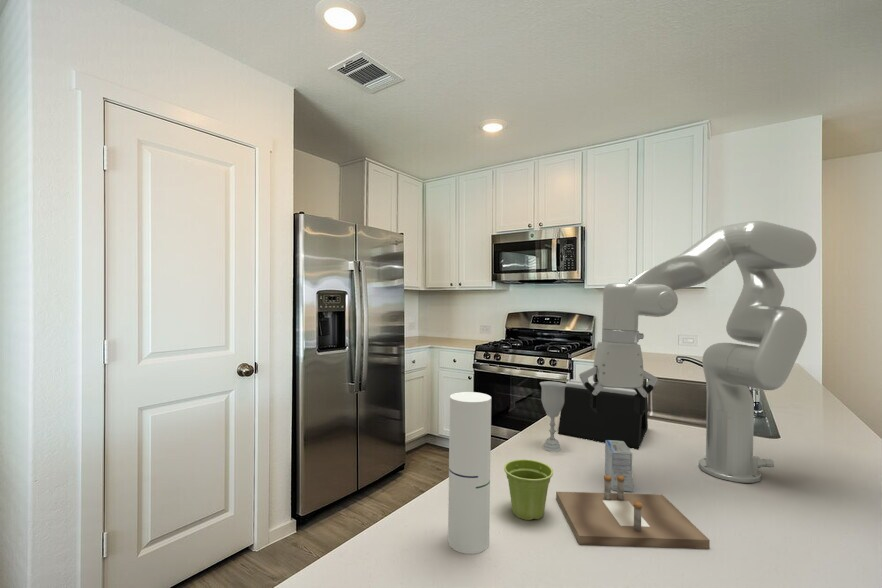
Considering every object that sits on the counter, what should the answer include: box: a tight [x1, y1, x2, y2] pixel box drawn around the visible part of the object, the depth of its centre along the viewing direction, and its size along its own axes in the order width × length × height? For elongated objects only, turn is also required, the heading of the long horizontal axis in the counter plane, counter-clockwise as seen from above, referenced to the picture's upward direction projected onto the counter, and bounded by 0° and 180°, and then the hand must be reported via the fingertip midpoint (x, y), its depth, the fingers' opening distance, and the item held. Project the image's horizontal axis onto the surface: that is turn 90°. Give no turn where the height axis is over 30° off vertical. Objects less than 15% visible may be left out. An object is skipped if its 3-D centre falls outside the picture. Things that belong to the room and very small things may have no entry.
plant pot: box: [503, 458, 554, 521], centre depth 82 cm, size 9×9×9 cm
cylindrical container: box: [447, 391, 492, 555], centre depth 72 cm, size 7×7×25 cm
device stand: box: [557, 378, 649, 450], centre depth 131 cm, size 22×22×15 cm
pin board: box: [555, 474, 711, 550], centre depth 79 cm, size 22×16×6 cm
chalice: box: [539, 380, 567, 453], centre depth 116 cm, size 7×7×18 cm
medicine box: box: [604, 440, 633, 493], centre depth 95 cm, size 8×4×9 cm, turn 168°
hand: (617, 412), depth 95 cm, fingers open, 9 cm apart
